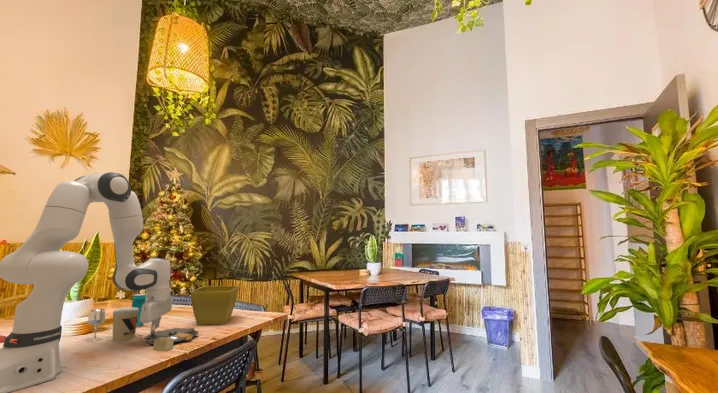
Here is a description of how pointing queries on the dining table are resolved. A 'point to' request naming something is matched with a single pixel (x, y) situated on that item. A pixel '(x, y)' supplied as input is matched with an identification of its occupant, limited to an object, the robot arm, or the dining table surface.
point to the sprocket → (171, 334)
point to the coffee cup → (124, 323)
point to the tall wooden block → (163, 344)
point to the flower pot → (213, 304)
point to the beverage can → (138, 305)
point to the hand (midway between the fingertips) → (155, 328)
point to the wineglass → (96, 320)
